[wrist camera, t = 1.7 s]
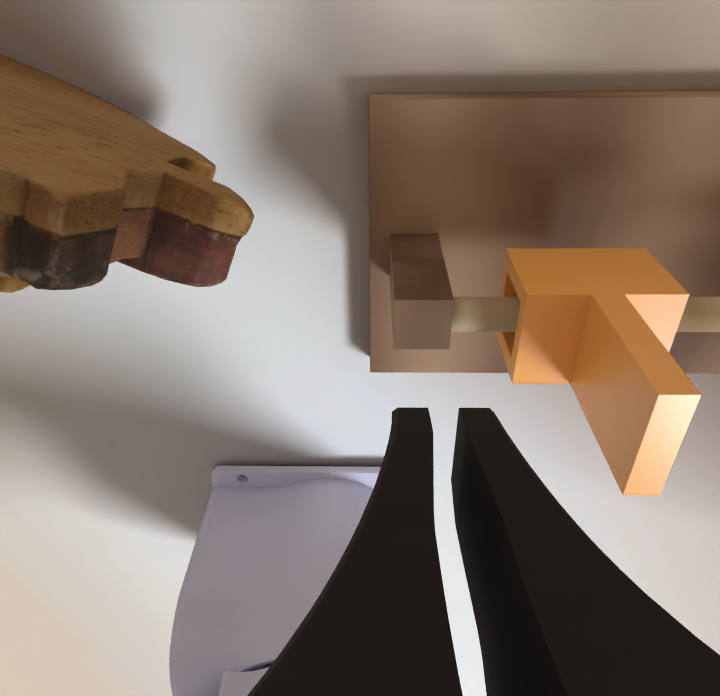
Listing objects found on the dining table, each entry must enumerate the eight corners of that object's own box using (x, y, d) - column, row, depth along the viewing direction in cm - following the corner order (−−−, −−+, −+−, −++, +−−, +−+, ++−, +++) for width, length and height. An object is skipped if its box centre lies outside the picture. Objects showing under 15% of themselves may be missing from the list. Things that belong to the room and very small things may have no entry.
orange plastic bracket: (494, 329, 18) (548, 494, 12) (506, 248, 16) (574, 394, 11) (621, 330, 18) (734, 495, 12) (645, 248, 16) (786, 394, 11)
